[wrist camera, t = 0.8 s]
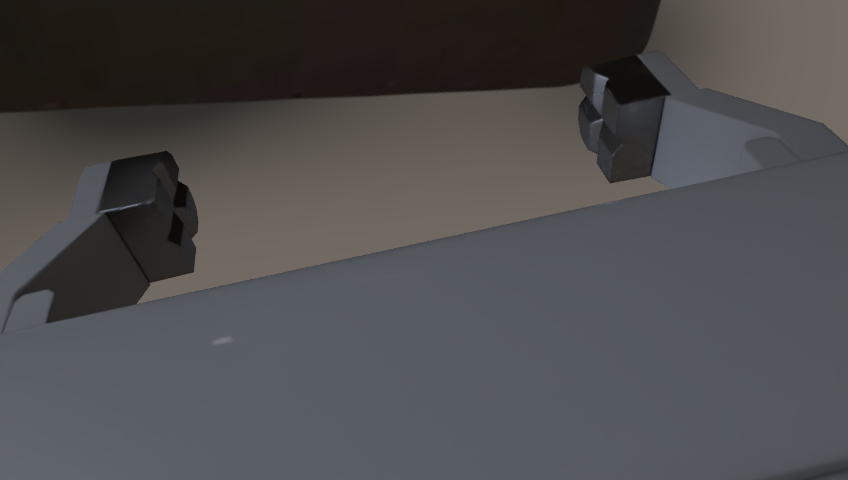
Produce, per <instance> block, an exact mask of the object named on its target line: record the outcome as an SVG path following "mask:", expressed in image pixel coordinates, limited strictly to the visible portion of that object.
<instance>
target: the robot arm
mask: <svg viewBox="0 0 848 480" xmlns="http://www.w3.org/2000/svg"><path fill="white" fill-rule="evenodd" d="M580 87H581V88H582V90H583V91H584V93H585V94H586V97H585V98H584V100H583V101H582V102H581V104H580V105H579V115H578V116H579V117H578V121H579V127H580V133H581V136H582V139H583V141H584V143H585V145H586V147H587V148H588V150H590V151H592V152H594V153H597V154H598V156H597V164H598V166H599V167H600V169H601V170H602V172H603V174H604V175H605V177H606V178H607V180H608V181H609V182H610V183H614V182H619V181H625V180H630V179H635V178H641V177H646V176H651V178H653V179H655V180H657V181H658V182H660V183H662V184H664V185H665V186H667V187H669V188H671V189H669V190H664V191H659V192H655V193H650V194H645V195H641V196H636V197H632V198H627V199H623V200H618V201H613V202H609V203H603V204H599V205H594V206H590V207H585V208H580V209H576V210H571V211H567V212H562V213H557V214H552V215H548V216H544V217H538V218H534V219H529V220H525V221H520V222H515V223H511V224H506V225H502V226H497V227H493V228H488V229H483V230H479V231H474V232H470V233H464V234H460V235H455V236H451V237H446V238H441V239H437V240H432V241H427V242H423V243H418V244H414V245H409V246H404V247H399V248H395V249H390V250H385V251H381V252H376V253H372V254H367V255H362V256H358V257H353V258H348V259H344V260H339V261H334V262H330V263H325V264H321V265H316V266H312V267H307V268H302V269H297V270H293V271H288V272H283V273H279V274H274V275H270V276H265V277H260V278H256V279H251V280H246V281H242V282H237V283H233V284H228V285H223V286H219V287H214V288H210V289H205V290H200V291H195V292H191V293H186V294H182V295H177V296H172V297H168V298H163V299H158V300H154V301H149V302H145V303H140V304H137V302H138V301H139V299H140V298H141V297H142V296H143V294H144V293H145V291H146V290H147V289H148V287H149V286H150V284H149V283H151V282H155V281H159V280H164V279H168V278H172V277H176V276H180V275H184V274H188V273H193V272H194V263H195V254H196V247H195V245H194V243H193V241H192V238H193V237H194V235H195V234H196V233H197V232H198V217H197V210H196V206H195V203H194V200H193V197H192V195H191V192H190V190H189V188H188V187H187V186H186V185H184V184H183V183H181V182H179V181H178V173H179V168H178V166H177V164H176V162H175V160H174V158H173V156H172V155H171V154H170V153H169V152H167V151H164V152H159V153H153V154H147V155H142V156H136V157H131V158H126V159H121V160H115V161H109V162H104V163H99V164H94V165H90V166H88V167H86V168H84V170H83V173H82V176H81V179H80V182H79V185H78V188H77V191H76V194H75V198H74V201H73V204H72V207H71V210H70V213H69V216H68V219H67V221H62V222H59V223H57V224H56V225H55V226H54V227H53V228H52V229H51V230H49V231H48V232H47V233H46V234H45V235H43V236H42V237H41V238H40V239H39V240H37V241H36V242H35V243H34V244H33V245H32V246H30V247H29V248H28V249H27V250H26V251H25V252H23V253H22V254H21V255H20V256H19V257H17V258H16V259H15V260H14V261H13V262H12V263H10V264H9V265H8V266H7V267H6V268H5V269H4V270H2V271H1V272H0V480H848V145H847V144H846V143H845V142H844V141H842V140H841V139H840V138H839V137H838V136H837V135H836V134H834V133H833V132H832V131H831V130H830V129H829V128H827V127H826V126H825V125H824V124H823V123H819V122H816V121H813V120H810V119H807V118H803V117H800V116H797V115H793V114H790V113H787V112H784V111H780V110H777V109H774V108H770V107H767V106H764V105H761V104H757V103H754V102H751V101H747V100H744V99H741V98H738V97H734V96H731V95H728V94H724V93H721V92H718V91H714V90H711V89H708V88H705V89H698V88H697V87H696V86H695V85H694V84H693V83H692V82H691V81H690V80H689V79H688V78H687V76H686V75H684V73H683V72H682V71H681V70H680V69H679V68H678V67H677V66H676V65H675V64H674V63H673V62H672V61H671V60H670V59H669V58H668V57H667V56H666V55H665V54H664V53H663V52H661V51H658V50H655V51H651V52H647V53H643V54H639V55H635V56H631V57H627V58H622V59H618V60H614V61H609V62H605V63H601V64H596V65H592V66H588V67H584V68H583V71H582V74H581V83H580Z"/></svg>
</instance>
